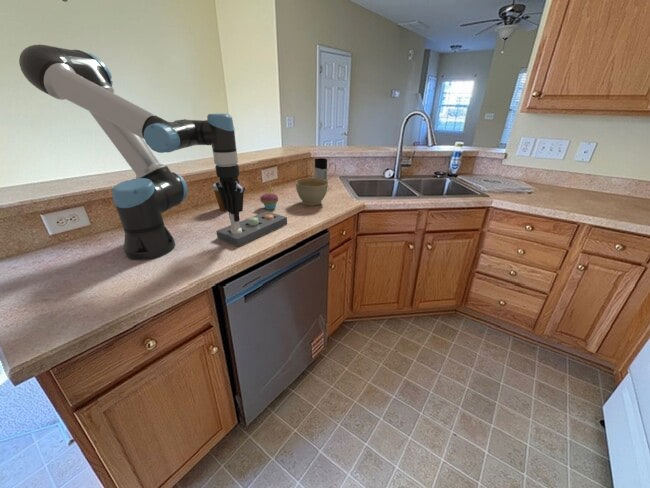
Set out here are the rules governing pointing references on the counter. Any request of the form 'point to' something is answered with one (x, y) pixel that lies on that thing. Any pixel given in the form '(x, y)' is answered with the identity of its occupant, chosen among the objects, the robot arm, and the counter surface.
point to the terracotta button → (268, 216)
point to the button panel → (251, 229)
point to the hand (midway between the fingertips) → (235, 228)
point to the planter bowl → (311, 190)
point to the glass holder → (322, 168)
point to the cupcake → (269, 200)
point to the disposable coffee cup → (218, 197)
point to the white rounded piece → (236, 231)
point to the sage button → (253, 221)
